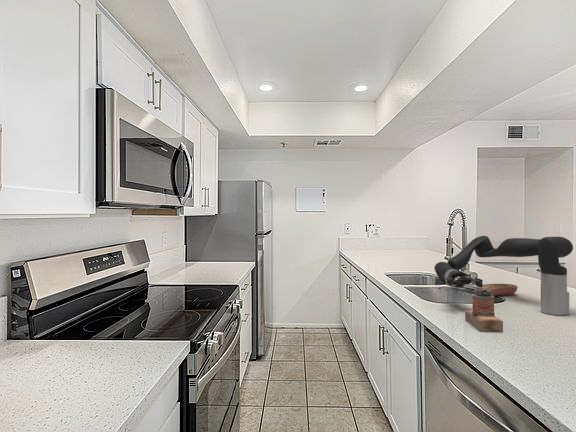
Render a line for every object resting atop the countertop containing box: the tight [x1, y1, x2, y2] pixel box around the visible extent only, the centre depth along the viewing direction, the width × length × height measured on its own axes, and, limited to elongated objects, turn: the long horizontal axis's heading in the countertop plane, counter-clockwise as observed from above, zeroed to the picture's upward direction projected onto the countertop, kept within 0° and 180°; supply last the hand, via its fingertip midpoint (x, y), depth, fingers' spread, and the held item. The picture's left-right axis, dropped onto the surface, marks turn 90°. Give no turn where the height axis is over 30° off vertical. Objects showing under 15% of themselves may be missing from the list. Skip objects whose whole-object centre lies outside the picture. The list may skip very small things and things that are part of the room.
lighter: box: [471, 289, 496, 317], centre depth 138 cm, size 8×3×10 cm, turn 83°
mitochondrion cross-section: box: [475, 283, 518, 296], centre depth 188 cm, size 23×10×5 cm, turn 105°
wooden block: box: [464, 309, 504, 333], centre depth 139 cm, size 8×14×4 cm, turn 175°
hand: (470, 284), depth 152 cm, fingers open, 8 cm apart
